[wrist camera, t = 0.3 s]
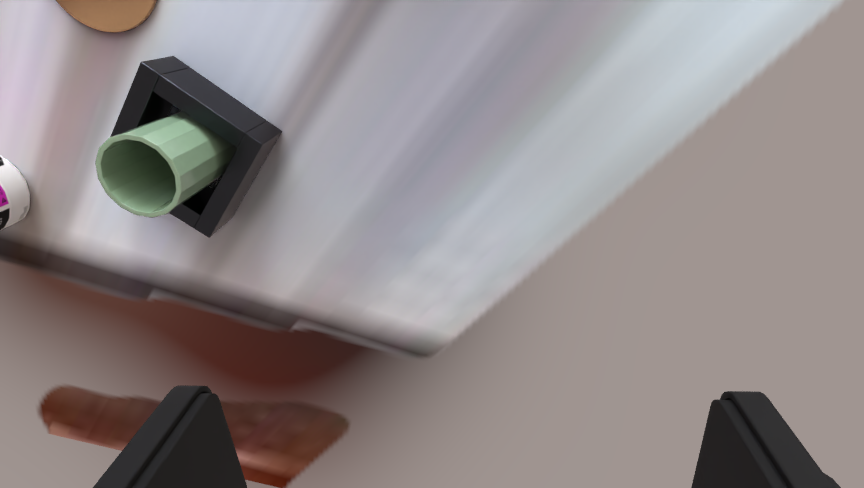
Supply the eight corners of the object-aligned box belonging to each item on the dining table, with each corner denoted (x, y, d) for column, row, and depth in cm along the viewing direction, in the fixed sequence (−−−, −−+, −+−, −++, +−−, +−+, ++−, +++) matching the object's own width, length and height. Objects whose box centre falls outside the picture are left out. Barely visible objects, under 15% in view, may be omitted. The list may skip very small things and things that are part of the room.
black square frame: (130, 153, 47) (97, 168, 43) (173, 55, 43) (140, 61, 38) (231, 218, 49) (209, 238, 45) (282, 131, 45) (262, 144, 41)
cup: (156, 135, 46) (78, 167, 37) (201, 92, 44) (130, 116, 35) (207, 188, 48) (145, 231, 39) (252, 150, 46) (198, 187, 37)
